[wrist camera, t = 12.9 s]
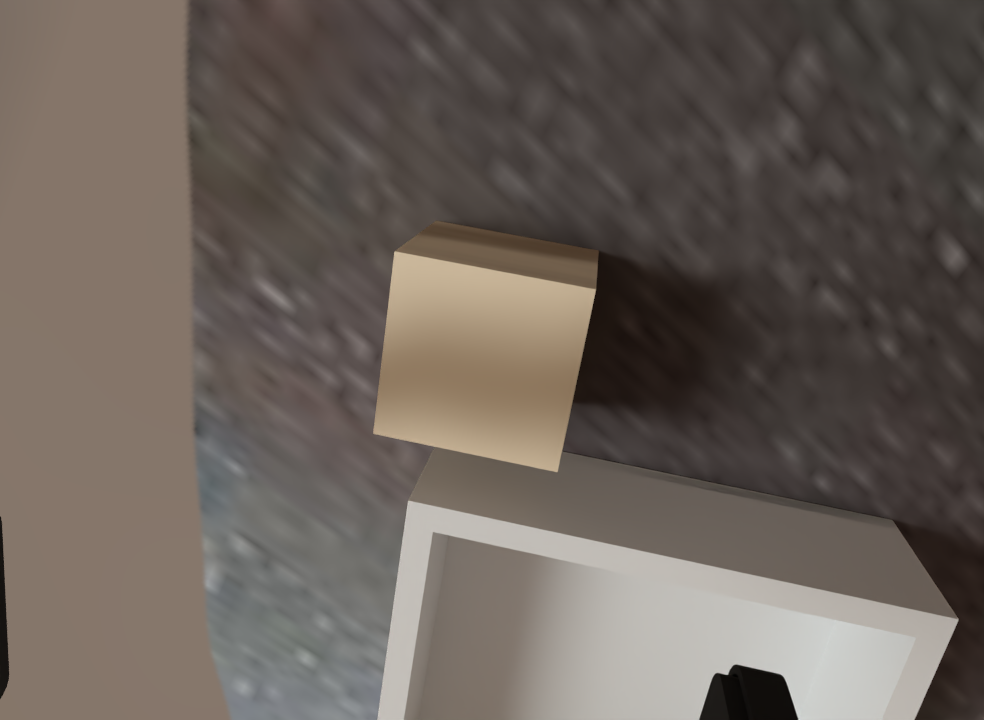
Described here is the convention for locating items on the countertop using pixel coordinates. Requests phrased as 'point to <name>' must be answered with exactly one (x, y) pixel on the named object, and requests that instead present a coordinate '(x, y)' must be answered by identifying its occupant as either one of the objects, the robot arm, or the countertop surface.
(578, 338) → the wood cube
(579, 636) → the tote
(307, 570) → the countertop surface
